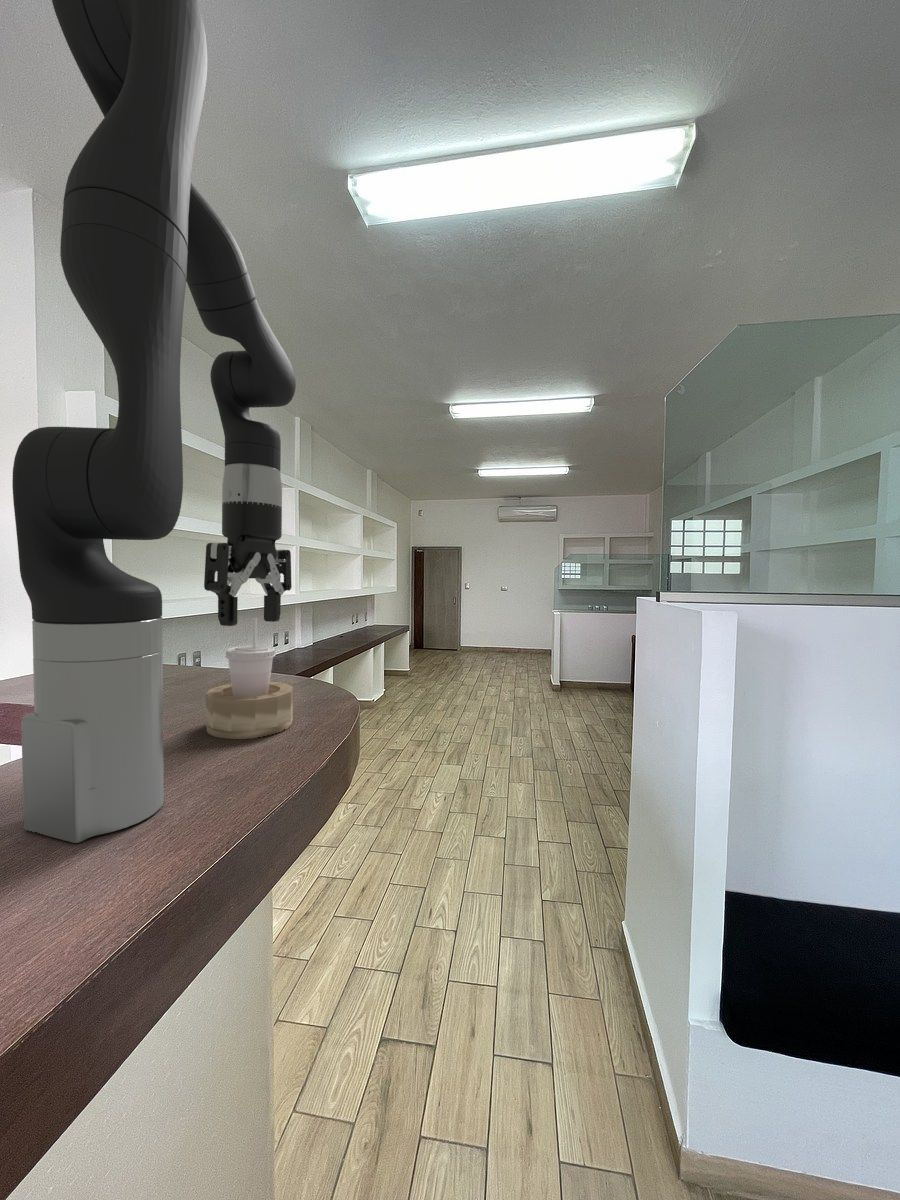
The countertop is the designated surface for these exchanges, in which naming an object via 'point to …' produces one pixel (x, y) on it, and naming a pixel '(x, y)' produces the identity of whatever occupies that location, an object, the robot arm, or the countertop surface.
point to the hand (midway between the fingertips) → (251, 623)
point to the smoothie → (250, 668)
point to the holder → (248, 712)
